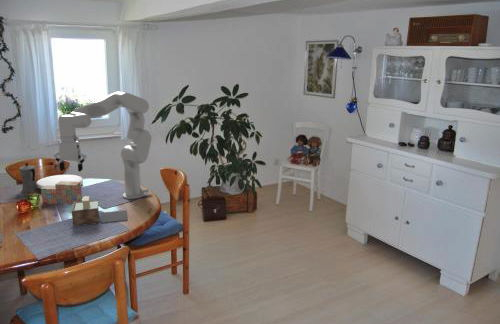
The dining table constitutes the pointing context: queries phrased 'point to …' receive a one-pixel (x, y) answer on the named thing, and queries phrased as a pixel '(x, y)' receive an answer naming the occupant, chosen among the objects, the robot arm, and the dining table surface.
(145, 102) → the robot arm
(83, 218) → the box
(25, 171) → the coffeepot
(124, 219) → the grey flat slab
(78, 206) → the lid
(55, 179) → the plate
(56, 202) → the stack of blocks
